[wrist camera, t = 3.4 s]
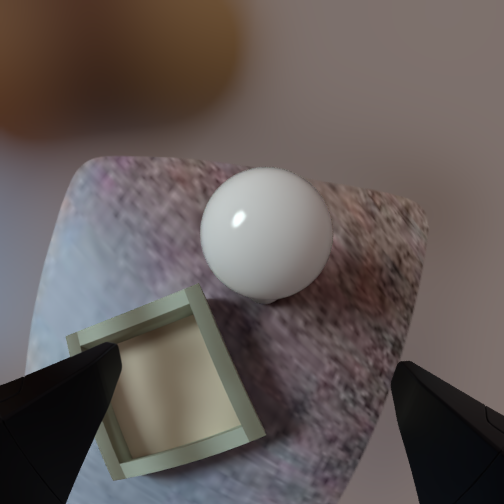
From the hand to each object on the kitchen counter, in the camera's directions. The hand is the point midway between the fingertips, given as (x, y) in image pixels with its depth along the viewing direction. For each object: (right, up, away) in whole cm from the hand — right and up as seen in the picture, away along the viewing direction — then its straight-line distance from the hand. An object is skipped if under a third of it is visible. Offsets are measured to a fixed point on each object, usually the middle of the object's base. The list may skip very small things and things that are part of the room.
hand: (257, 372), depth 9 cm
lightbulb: (+1, +1, +13) cm, 13 cm away
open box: (-6, -6, +10) cm, 13 cm away
